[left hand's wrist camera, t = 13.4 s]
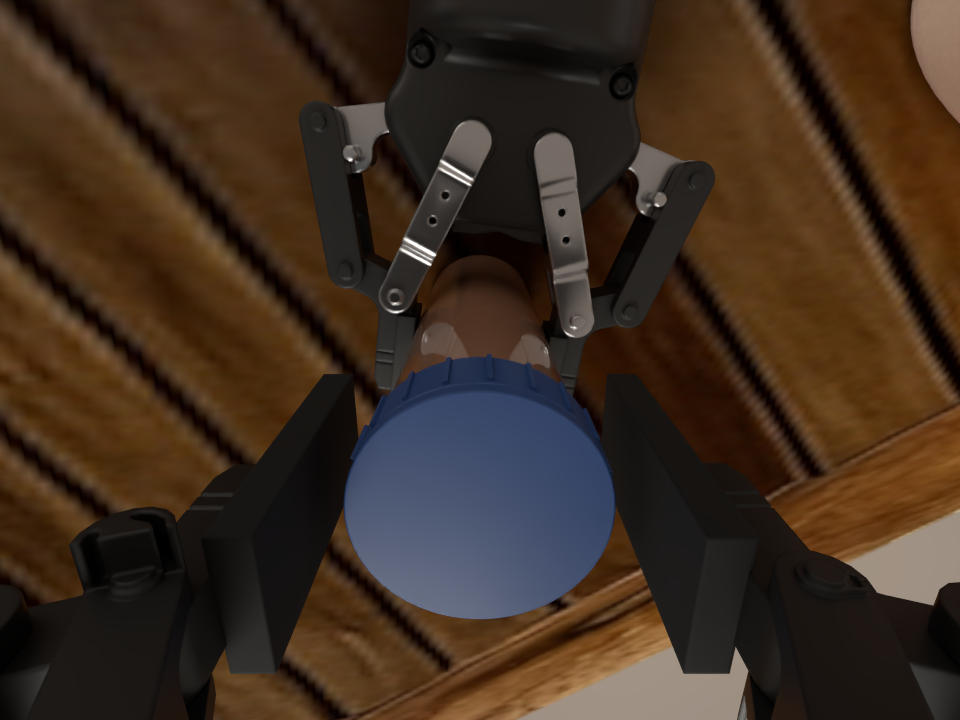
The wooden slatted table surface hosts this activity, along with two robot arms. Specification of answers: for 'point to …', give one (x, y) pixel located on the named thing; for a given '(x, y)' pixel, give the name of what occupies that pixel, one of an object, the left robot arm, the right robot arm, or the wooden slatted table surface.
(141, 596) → the left robot arm
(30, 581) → the wooden slatted table surface
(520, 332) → the brown tall cylinder
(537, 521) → the lid
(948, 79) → the anatomical model
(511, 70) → the right robot arm
